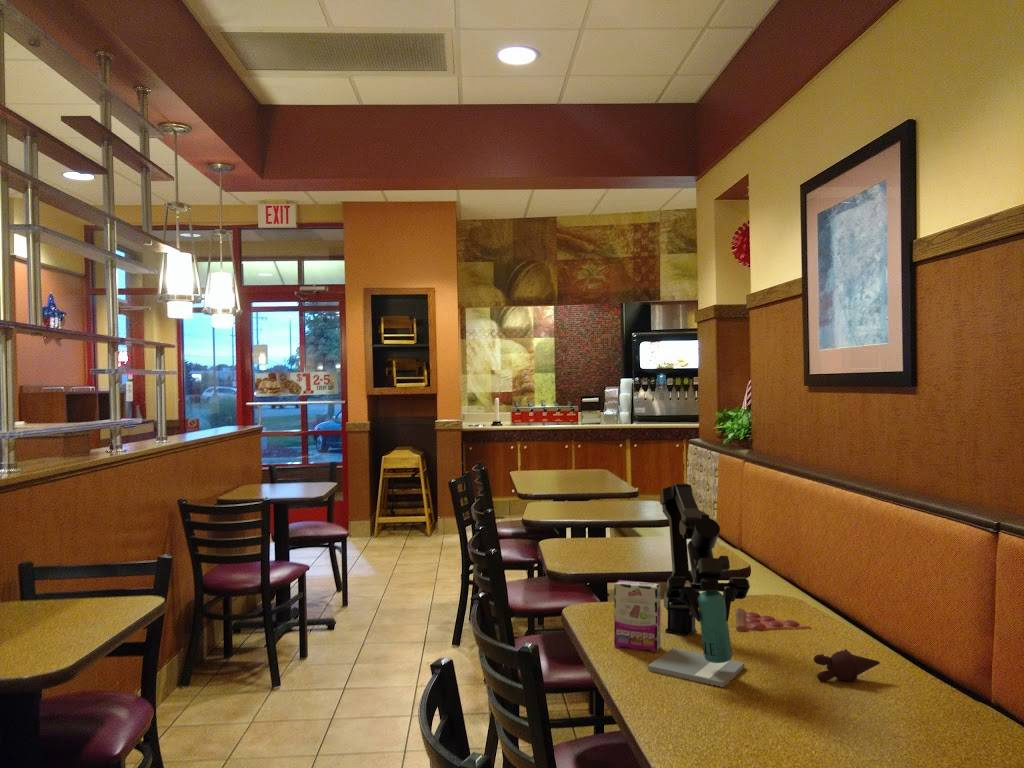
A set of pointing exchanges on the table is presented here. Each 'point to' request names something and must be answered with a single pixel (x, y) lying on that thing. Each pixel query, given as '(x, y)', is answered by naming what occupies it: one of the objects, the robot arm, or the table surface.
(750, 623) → the pizza slice
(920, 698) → the table surface
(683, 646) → the table surface
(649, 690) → the table surface
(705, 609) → the beverage bottle
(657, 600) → the candy bar box
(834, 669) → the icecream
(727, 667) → the grey flat rectangular block
